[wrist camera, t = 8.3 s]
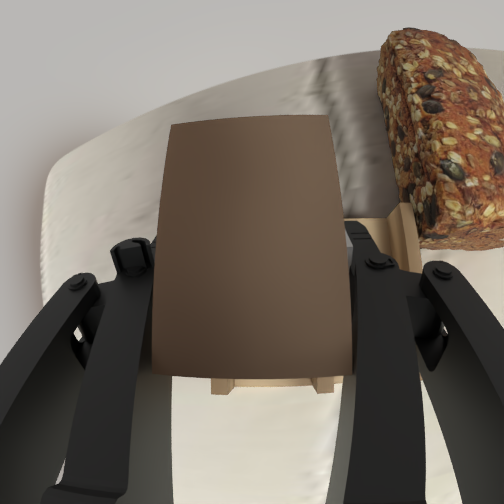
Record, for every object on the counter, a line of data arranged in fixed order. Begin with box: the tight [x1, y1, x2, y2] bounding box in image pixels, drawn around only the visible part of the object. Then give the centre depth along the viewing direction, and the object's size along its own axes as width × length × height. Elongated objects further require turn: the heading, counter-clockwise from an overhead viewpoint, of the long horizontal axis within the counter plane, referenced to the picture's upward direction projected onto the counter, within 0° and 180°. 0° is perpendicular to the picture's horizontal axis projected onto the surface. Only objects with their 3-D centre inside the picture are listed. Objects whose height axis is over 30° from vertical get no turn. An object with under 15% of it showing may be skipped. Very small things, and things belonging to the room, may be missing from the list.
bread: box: [377, 28, 504, 251], centre depth 19 cm, size 19×11×10 cm, turn 177°
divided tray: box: [211, 203, 423, 395], centre depth 20 cm, size 15×12×4 cm
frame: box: [152, 115, 352, 379], centre depth 12 cm, size 4×6×11 cm
